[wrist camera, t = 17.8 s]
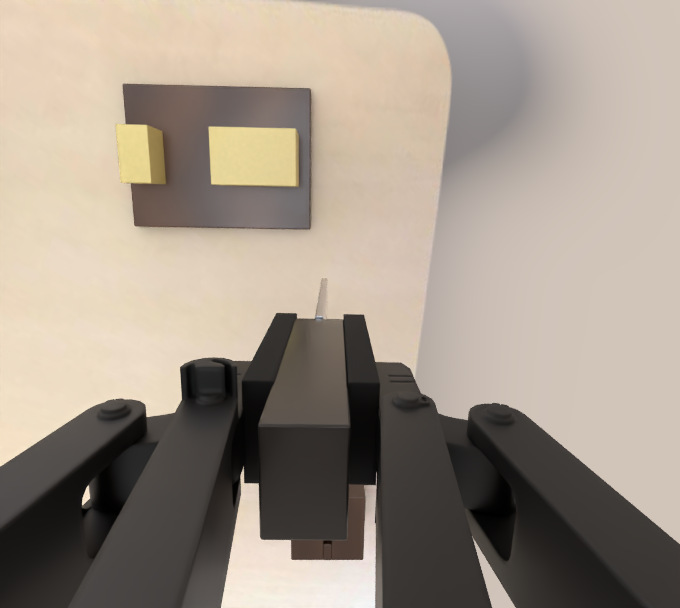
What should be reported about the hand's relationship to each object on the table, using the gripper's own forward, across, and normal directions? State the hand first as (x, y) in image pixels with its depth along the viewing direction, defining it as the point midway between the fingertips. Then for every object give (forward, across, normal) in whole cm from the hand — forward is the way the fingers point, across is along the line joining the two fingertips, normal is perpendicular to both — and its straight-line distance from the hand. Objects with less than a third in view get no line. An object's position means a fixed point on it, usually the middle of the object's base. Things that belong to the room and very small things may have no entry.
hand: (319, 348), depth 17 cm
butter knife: (+8, 0, 0) cm, 8 cm away
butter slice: (+26, -16, +9) cm, 31 cm away
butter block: (+26, -6, +9) cm, 28 cm away
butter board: (+27, -10, +9) cm, 30 cm away
